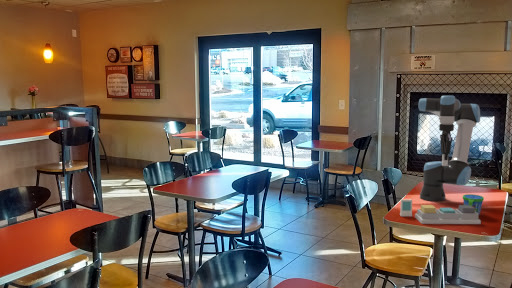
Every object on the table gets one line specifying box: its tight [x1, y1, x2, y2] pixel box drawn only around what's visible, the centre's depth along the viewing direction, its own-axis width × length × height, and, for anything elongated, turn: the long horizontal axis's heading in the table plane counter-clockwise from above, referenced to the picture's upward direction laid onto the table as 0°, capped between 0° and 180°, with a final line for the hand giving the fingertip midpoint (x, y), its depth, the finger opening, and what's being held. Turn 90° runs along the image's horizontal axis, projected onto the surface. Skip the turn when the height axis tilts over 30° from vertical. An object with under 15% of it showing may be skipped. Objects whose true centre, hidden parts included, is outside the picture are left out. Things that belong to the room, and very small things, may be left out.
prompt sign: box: [399, 198, 413, 217], centre depth 258 cm, size 3×6×9 cm, turn 87°
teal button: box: [439, 207, 455, 213], centre depth 249 cm, size 6×6×4 cm
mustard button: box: [420, 204, 437, 213], centre depth 249 cm, size 6×6×4 cm
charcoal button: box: [458, 204, 475, 213], centre depth 248 cm, size 6×6×4 cm
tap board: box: [414, 208, 482, 225], centre depth 249 cm, size 12×30×5 cm, turn 87°
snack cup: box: [462, 194, 485, 215], centre depth 260 cm, size 16×10×10 cm
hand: (444, 165), depth 263 cm, fingers closed
